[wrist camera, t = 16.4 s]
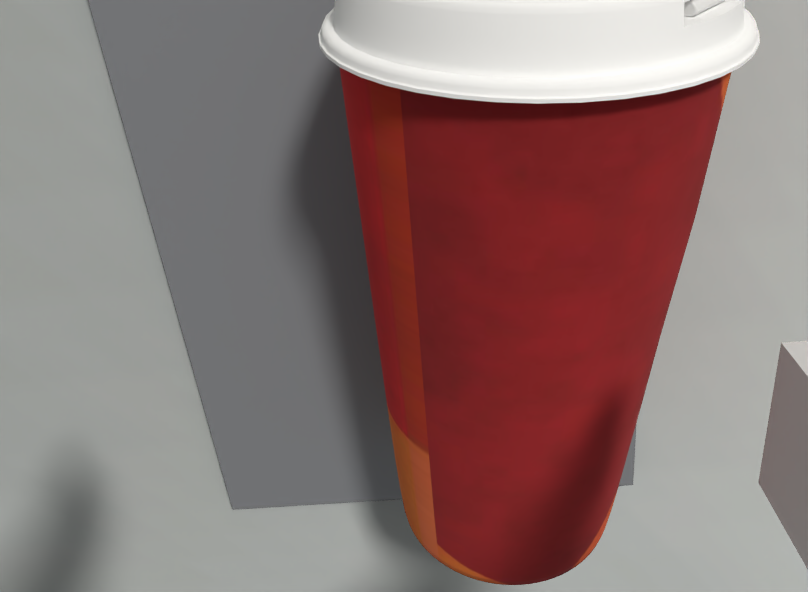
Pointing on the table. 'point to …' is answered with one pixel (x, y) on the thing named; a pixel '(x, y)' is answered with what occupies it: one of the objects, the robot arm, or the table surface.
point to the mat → (260, 239)
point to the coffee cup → (525, 246)
